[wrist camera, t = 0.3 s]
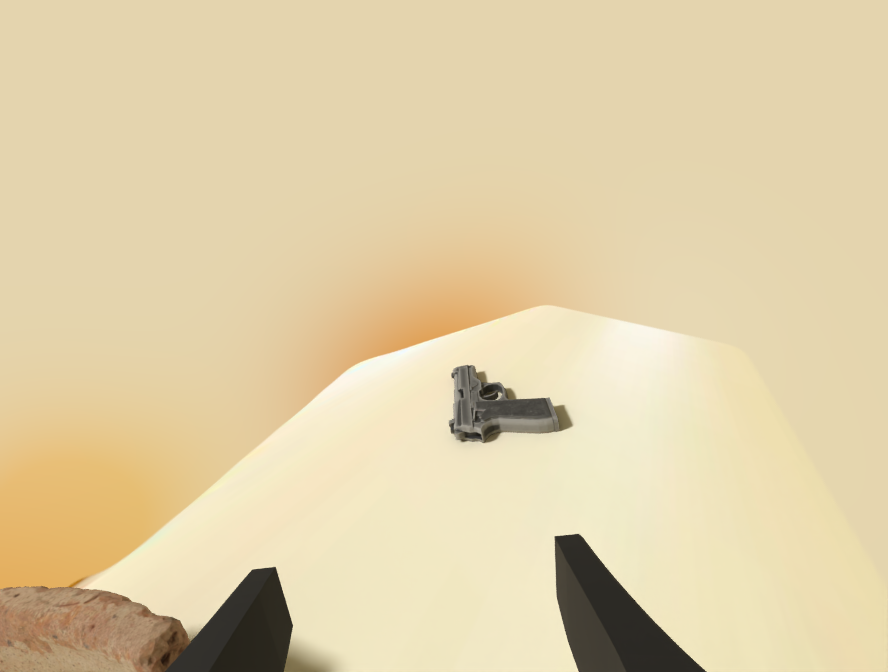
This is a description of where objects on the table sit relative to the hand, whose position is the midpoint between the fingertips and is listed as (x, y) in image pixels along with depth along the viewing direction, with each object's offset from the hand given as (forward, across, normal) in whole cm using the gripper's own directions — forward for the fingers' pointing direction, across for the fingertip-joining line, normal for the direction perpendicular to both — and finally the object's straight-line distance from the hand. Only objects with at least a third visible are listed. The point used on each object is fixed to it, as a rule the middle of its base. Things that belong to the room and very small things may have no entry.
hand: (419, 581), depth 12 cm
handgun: (+43, -7, +18) cm, 47 cm away
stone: (+13, +23, +23) cm, 36 cm away
